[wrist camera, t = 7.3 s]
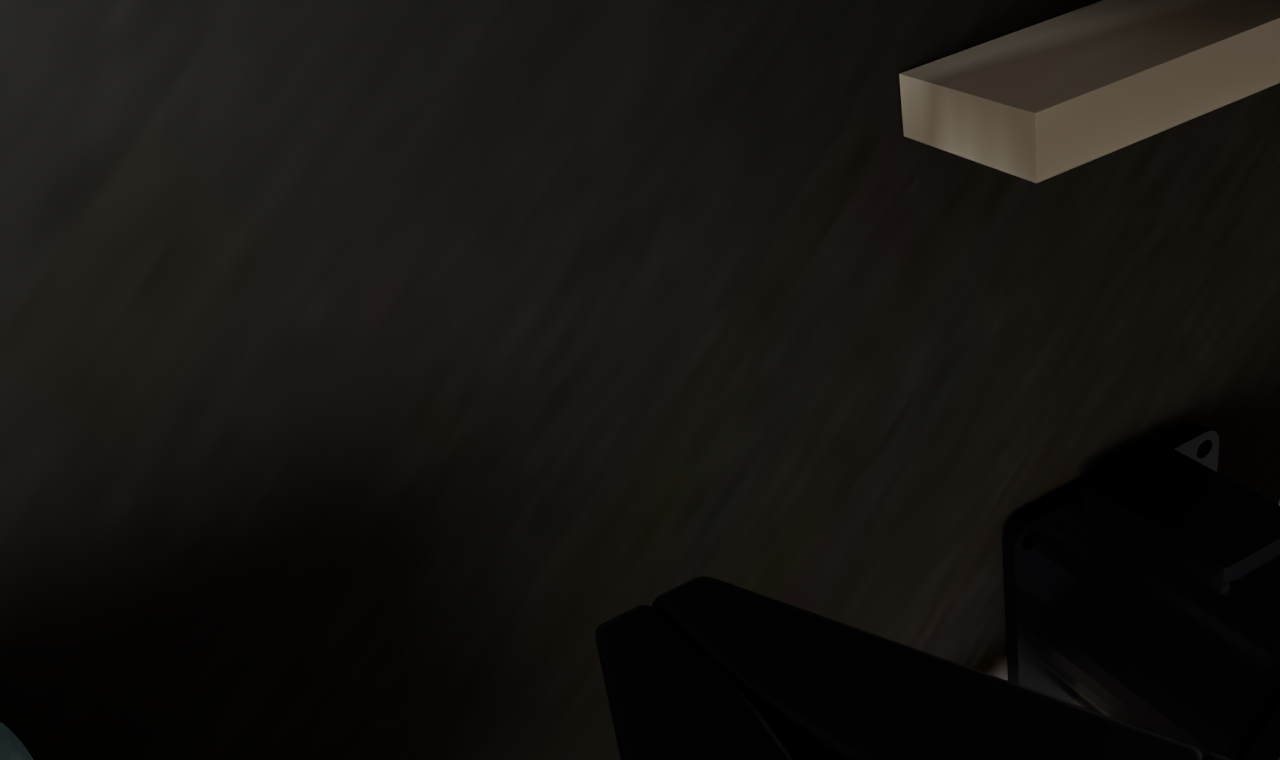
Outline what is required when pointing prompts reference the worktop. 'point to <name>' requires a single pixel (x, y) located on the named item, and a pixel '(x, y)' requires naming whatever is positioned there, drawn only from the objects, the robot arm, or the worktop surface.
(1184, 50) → the lane walls
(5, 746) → the flower pot
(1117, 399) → the worktop surface
